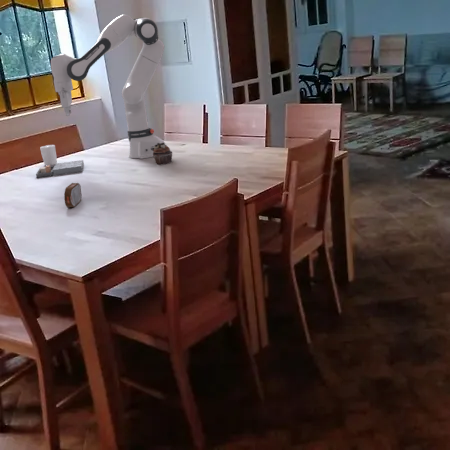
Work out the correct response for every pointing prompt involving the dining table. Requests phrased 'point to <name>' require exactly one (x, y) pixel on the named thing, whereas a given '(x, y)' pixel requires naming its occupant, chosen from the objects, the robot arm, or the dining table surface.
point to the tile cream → (42, 169)
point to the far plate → (68, 167)
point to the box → (44, 174)
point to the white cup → (49, 154)
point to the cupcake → (162, 154)
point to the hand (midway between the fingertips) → (68, 114)
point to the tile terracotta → (48, 168)
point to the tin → (72, 195)
